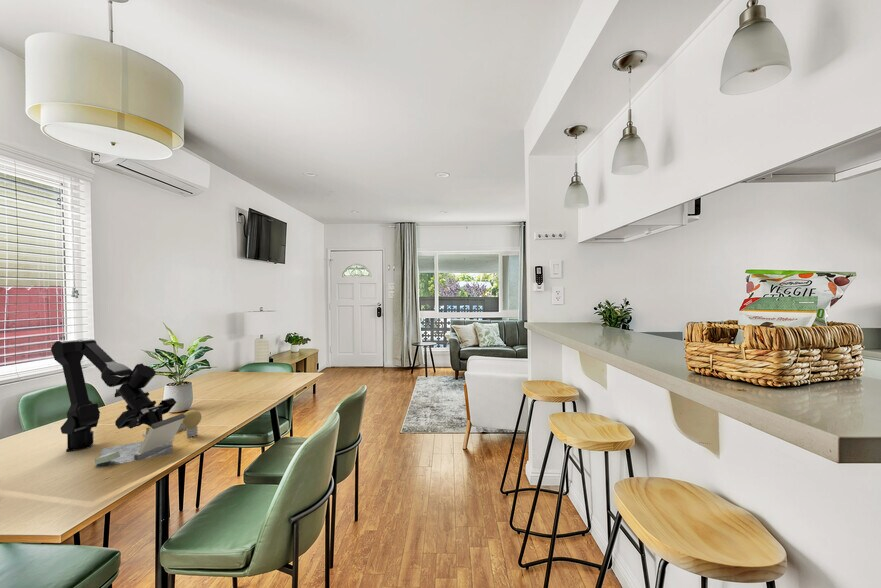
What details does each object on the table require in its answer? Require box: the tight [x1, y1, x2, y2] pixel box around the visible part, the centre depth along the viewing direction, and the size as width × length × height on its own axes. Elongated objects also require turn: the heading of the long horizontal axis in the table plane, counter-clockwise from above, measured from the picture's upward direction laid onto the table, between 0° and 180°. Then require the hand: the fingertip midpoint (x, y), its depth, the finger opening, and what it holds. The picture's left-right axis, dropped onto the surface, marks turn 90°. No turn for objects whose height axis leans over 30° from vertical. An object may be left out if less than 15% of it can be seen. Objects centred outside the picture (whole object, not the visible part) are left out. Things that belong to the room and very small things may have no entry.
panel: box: [94, 440, 173, 469], centre depth 139 cm, size 20×20×2 cm
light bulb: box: [182, 409, 202, 438], centre depth 156 cm, size 6×6×10 cm
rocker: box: [93, 451, 120, 465], centre depth 129 cm, size 5×4×2 cm
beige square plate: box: [138, 413, 185, 454], centre depth 137 cm, size 1×12×11 cm
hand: (161, 430), depth 137 cm, fingers closed, pressing on beige square plate
